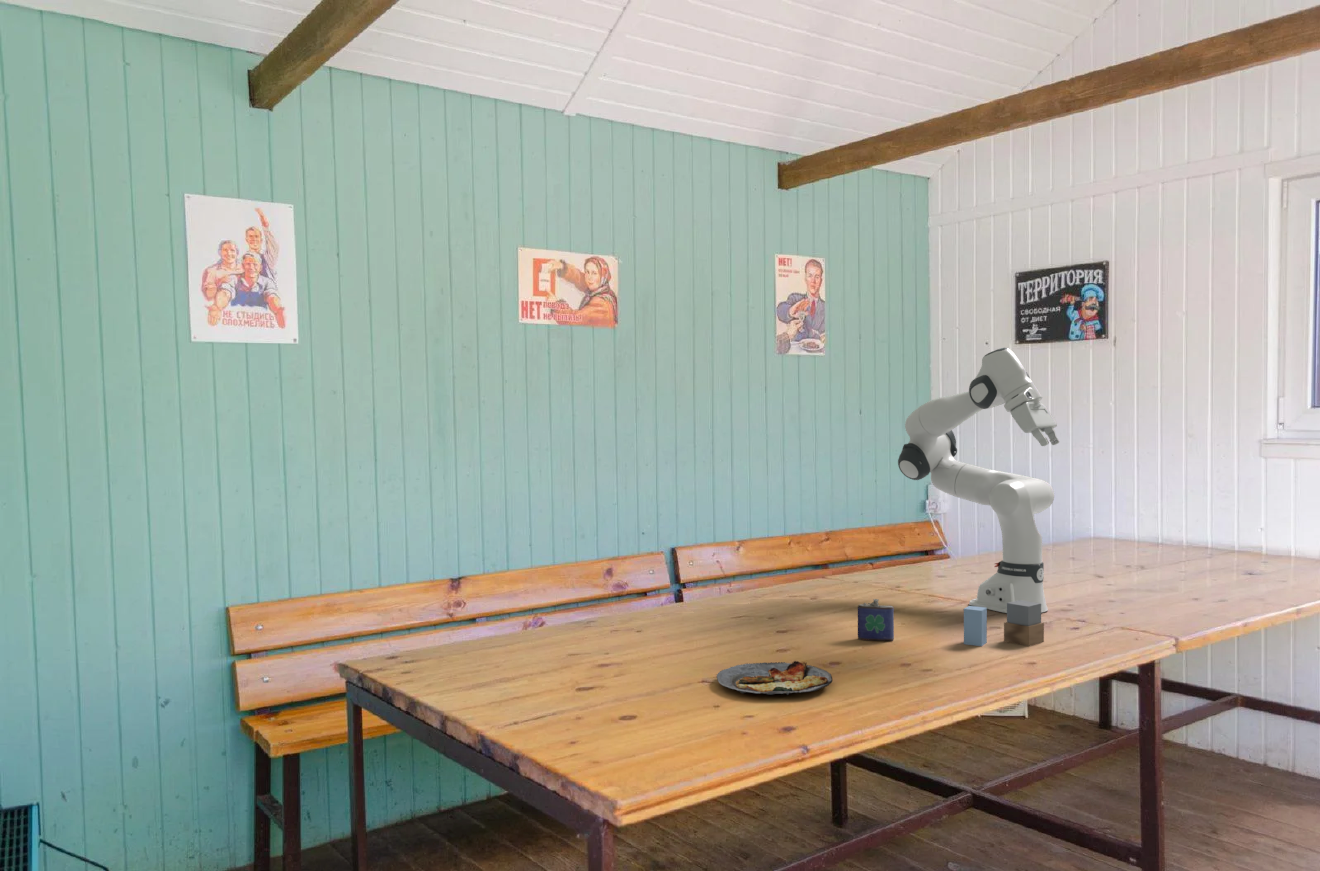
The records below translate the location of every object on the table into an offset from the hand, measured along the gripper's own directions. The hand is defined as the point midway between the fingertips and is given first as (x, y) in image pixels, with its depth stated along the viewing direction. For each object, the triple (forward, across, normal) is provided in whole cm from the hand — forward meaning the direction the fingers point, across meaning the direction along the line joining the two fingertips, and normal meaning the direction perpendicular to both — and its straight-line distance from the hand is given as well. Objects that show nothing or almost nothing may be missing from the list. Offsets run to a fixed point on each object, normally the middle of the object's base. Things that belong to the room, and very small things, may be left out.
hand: (1051, 444), depth 259 cm
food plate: (+27, +88, -54) cm, 107 cm away
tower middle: (+38, +16, -25) cm, 48 cm away
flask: (+26, +37, -54) cm, 71 cm away
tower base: (+42, +16, -27) cm, 53 cm away
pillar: (+37, +26, -35) cm, 57 cm away
